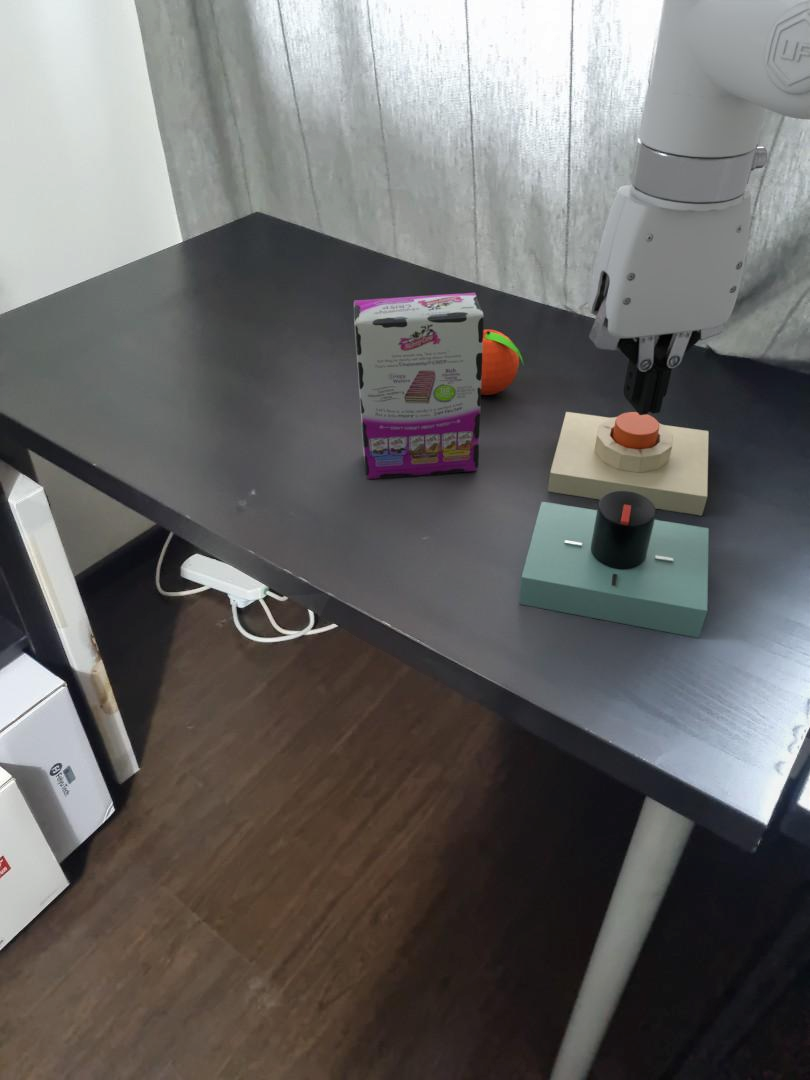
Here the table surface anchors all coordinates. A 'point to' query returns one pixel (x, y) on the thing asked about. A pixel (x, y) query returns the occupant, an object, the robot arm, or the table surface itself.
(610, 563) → the knob
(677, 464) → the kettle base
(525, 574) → the dial panel
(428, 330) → the candy bar box
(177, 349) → the table surface
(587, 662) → the table surface
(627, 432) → the power button
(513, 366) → the clementine
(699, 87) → the robot arm
